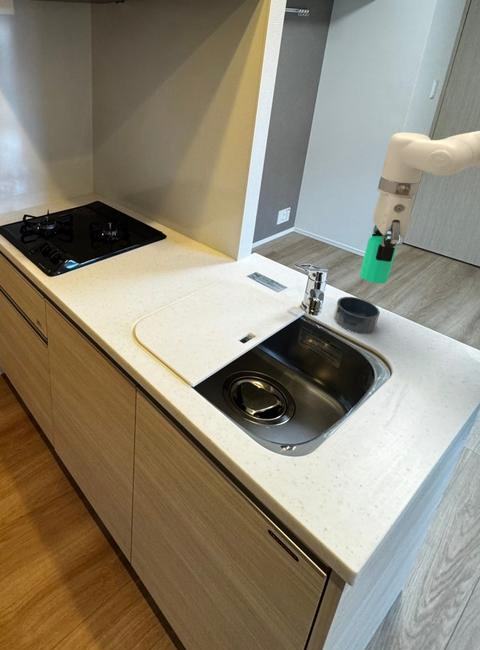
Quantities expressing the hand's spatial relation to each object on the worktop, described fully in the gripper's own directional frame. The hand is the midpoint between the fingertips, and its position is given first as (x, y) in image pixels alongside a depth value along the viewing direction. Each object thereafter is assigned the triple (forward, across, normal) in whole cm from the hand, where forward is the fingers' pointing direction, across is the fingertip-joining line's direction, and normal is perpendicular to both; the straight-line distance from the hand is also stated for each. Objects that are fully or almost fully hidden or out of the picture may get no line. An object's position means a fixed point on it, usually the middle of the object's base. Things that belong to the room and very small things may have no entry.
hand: (379, 253), depth 103 cm
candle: (+7, 0, 0) cm, 7 cm away
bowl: (+23, +2, +1) cm, 23 cm away
